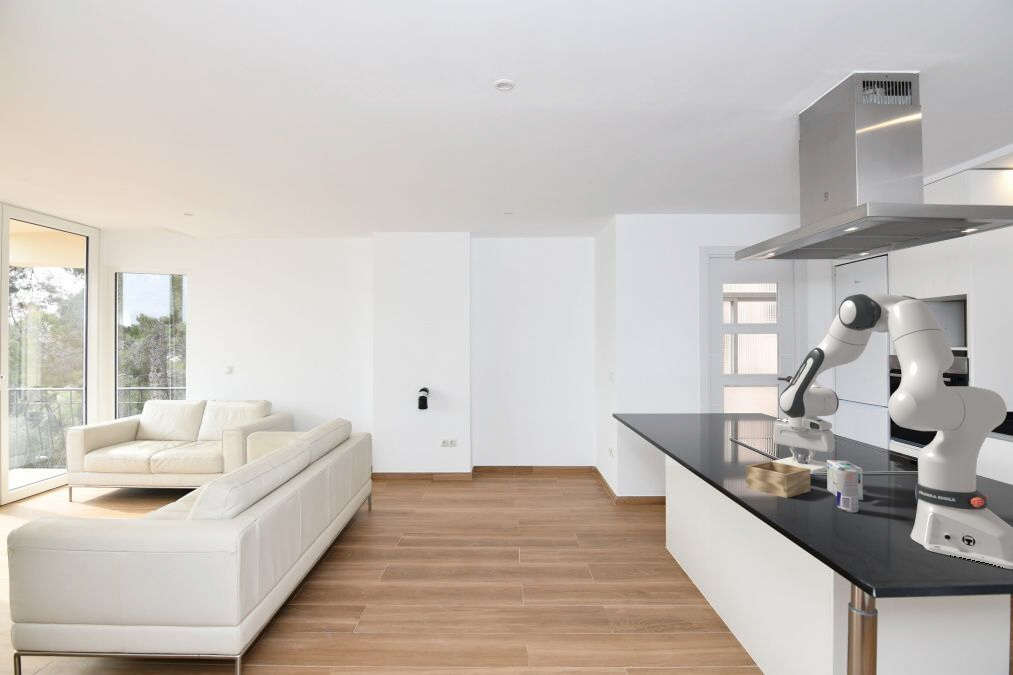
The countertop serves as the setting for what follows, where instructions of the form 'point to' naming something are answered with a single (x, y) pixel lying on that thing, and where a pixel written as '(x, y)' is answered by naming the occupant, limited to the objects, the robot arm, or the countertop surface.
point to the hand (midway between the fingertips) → (802, 460)
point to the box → (778, 479)
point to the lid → (804, 463)
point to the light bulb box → (832, 476)
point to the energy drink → (847, 489)
